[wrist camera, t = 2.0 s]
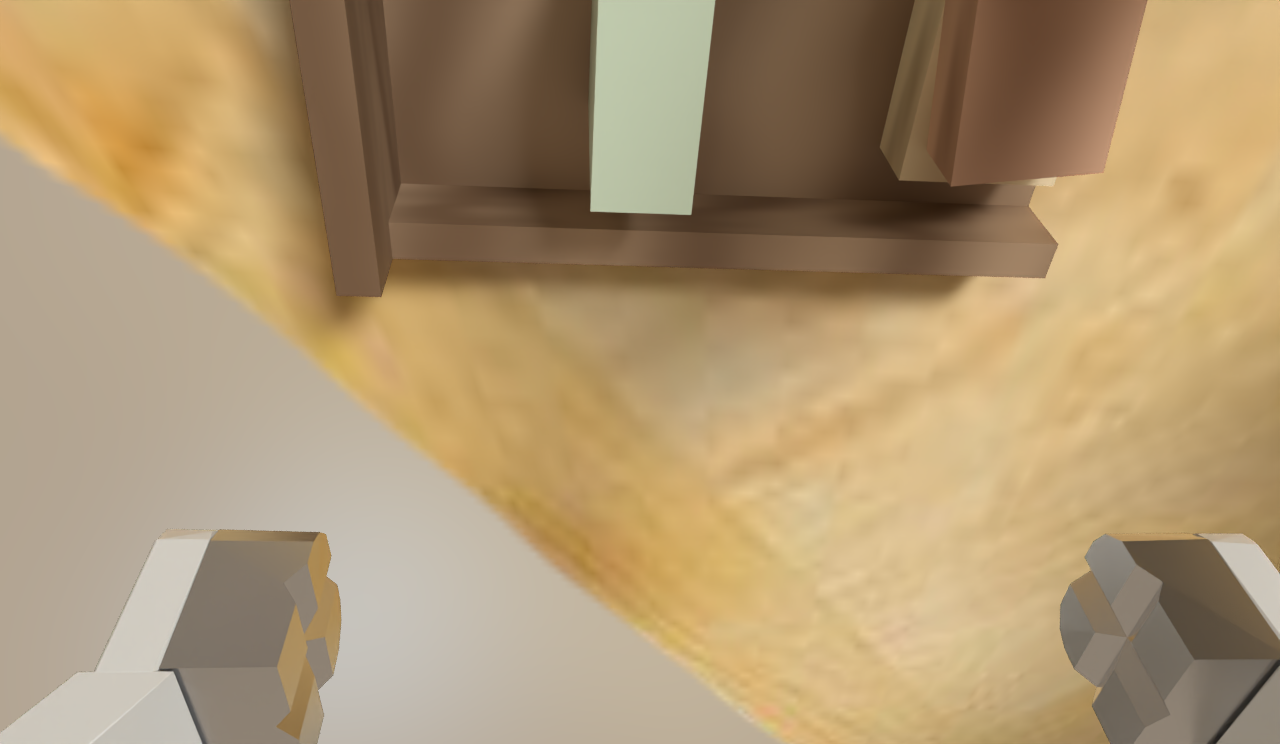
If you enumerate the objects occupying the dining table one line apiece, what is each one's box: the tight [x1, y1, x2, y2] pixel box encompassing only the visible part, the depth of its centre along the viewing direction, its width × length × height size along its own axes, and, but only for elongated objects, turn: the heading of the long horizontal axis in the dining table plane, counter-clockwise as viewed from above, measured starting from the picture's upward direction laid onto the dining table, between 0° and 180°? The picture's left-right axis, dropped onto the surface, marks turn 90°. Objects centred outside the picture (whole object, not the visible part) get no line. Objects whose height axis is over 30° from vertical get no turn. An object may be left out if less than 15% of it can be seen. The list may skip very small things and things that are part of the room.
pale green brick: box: [588, 0, 715, 215], centre depth 23 cm, size 2×6×6 cm, turn 176°
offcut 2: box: [927, 0, 1147, 187], centre depth 23 cm, size 4×6×2 cm, turn 4°
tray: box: [290, 0, 1058, 297], centre depth 24 cm, size 21×14×5 cm, turn 86°
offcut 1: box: [880, 0, 1057, 186], centre depth 25 cm, size 5×8×2 cm, turn 176°
